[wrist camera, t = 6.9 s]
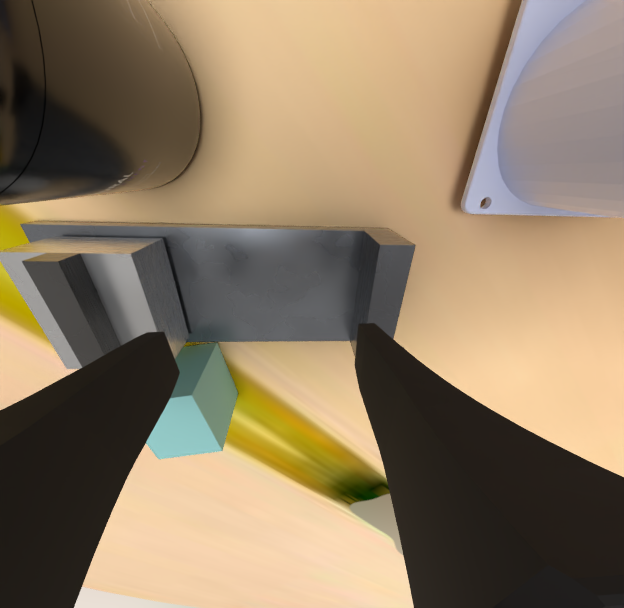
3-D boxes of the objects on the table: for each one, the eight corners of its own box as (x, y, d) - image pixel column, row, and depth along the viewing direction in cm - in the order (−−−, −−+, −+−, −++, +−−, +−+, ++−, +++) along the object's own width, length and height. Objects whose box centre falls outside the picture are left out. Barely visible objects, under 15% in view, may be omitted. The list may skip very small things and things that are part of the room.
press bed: (388, 228, 13) (415, 245, 10) (369, 333, 16) (385, 370, 13) (36, 220, 12) (-54, 237, 9) (93, 334, 15) (42, 375, 12)
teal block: (217, 341, 16) (191, 395, 12) (238, 392, 19) (222, 451, 15) (160, 349, 16) (116, 405, 12) (187, 398, 19) (158, 459, 15)
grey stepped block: (163, 238, 12) (113, 261, 9) (189, 337, 15) (159, 382, 12) (55, 236, 12) (-37, 260, 8) (103, 337, 14) (48, 384, 11)
